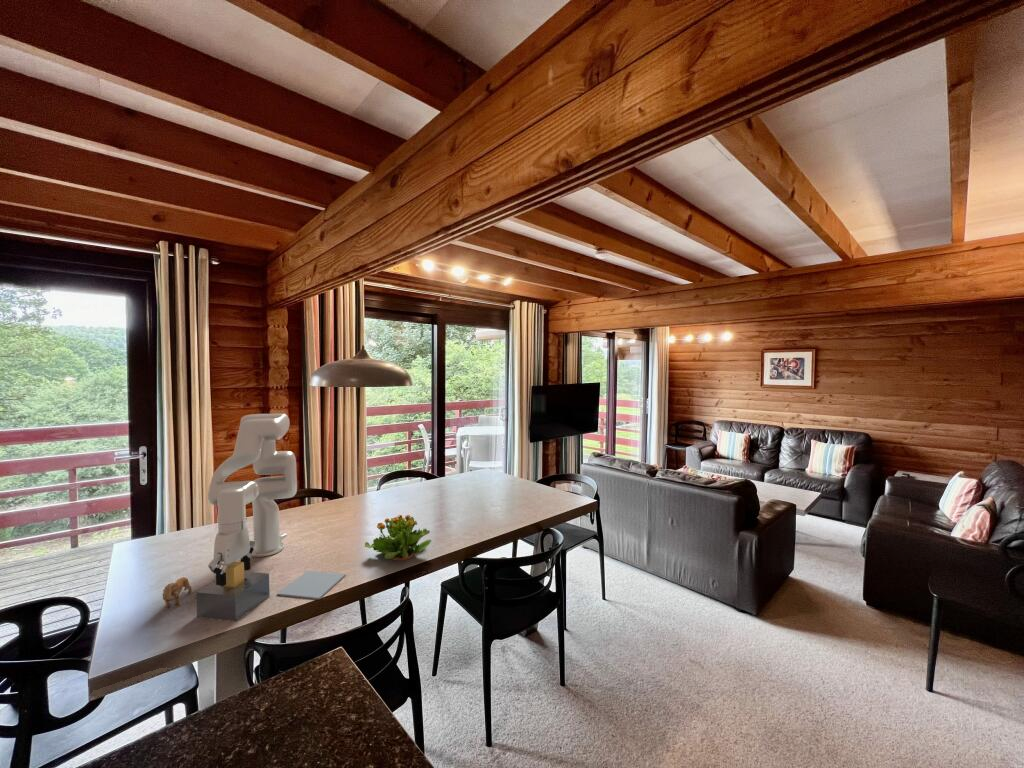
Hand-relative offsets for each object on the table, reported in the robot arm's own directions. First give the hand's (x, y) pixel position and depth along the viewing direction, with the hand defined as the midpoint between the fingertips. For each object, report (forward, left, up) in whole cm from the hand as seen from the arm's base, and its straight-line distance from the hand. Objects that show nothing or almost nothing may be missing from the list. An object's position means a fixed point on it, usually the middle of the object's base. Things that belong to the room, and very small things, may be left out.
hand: (233, 577), depth 135 cm
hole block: (0, 0, -10) cm, 10 cm away
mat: (-16, +17, -10) cm, 25 cm away
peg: (0, 0, -8) cm, 8 cm away
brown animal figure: (+1, -20, -10) cm, 23 cm away
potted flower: (-43, +40, -10) cm, 60 cm away
